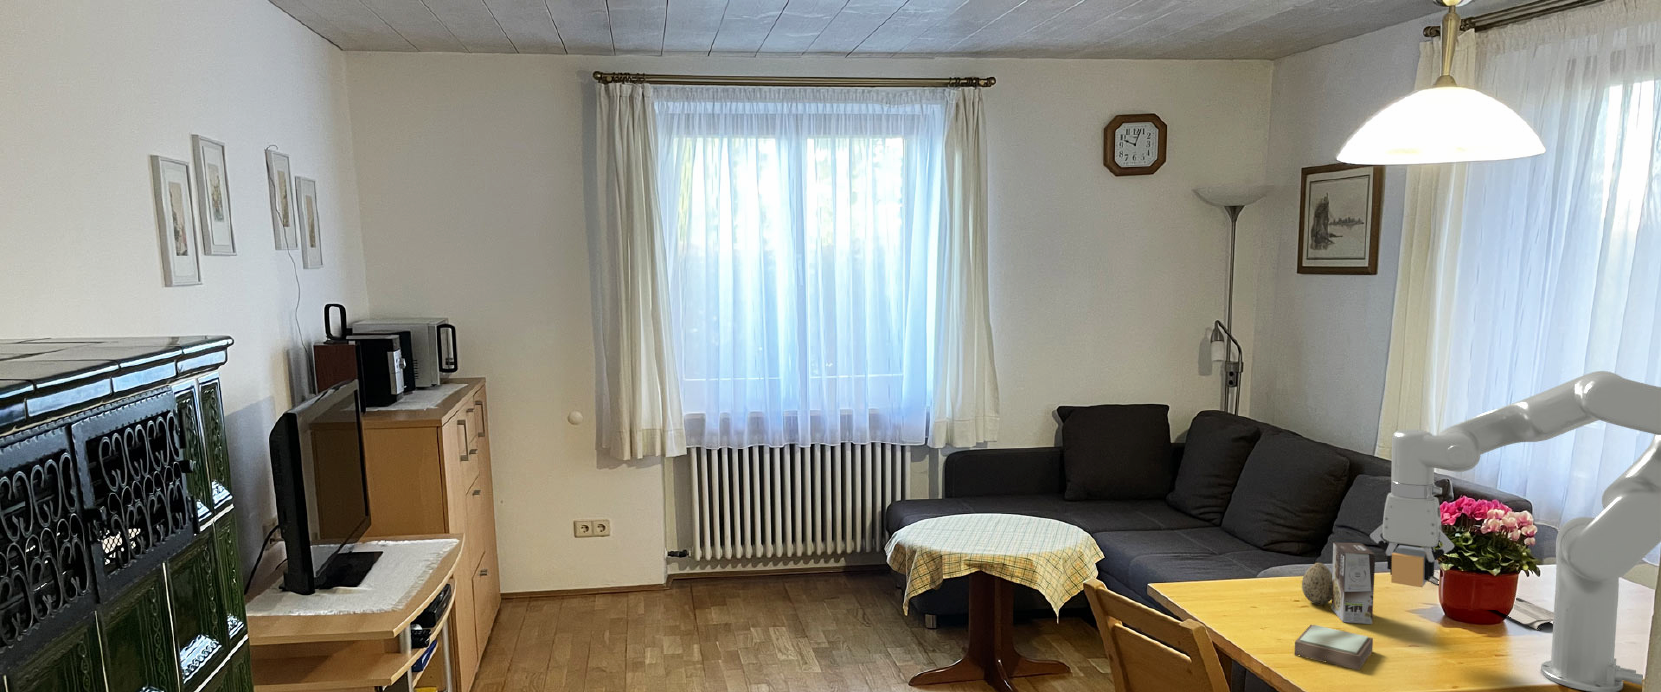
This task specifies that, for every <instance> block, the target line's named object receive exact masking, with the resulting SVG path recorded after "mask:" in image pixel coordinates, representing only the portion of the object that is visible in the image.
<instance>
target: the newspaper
mask: <svg viewBox="0 0 1661 692" xmlns="http://www.w3.org/2000/svg"><path fill="white" fill-rule="evenodd" d="M1438 570H1439V569H1434V576H1431V578H1430V579H1429V581H1428V582H1431V583H1433V584H1435V585H1437V584H1438V581H1439V572H1438ZM1508 616H1509V617H1508ZM1508 616H1507V617H1508V618H1510V617H1511V618H1510V619H1512V620H1514V621H1517V622H1520V623H1521V624H1522V625H1526V626H1528V625H1529V626H1528V627H1530V628H1532V629H1535V630H1540V629H1539V628H1540V627H1539V626H1540V625H1541V624H1544V623H1548V622H1551V621H1553V620H1554V611H1551V610H1548V609H1546V608H1544V607H1541V606H1539V605H1537V604H1534V603H1531V602H1529V601H1527V600H1525V599H1522V598H1519V597H1517V598H1516V601H1515V604H1514V609H1513V610H1512V612H1511V614H1509V615H1508ZM1538 627H1539V628H1538ZM1537 628H1538V629H1537Z"/></svg>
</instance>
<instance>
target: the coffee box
mask: <svg viewBox="0 0 1661 692" xmlns="http://www.w3.org/2000/svg"><path fill="white" fill-rule="evenodd" d="M1332 545H1333V546H1332V547H1333V548H1332V572H1331V574H1332V600H1331V605H1330V606H1331V607H1330V609H1331V610H1332V611H1333V613H1335V615H1336V616H1337V617H1338V618H1339V620H1341V622H1343V623H1350V624H1364V625H1373V613H1374V595H1375V594H1374V593H1375V591H1374V589H1375V571H1376V553H1375V552H1374V551H1372V550H1371V549H1369V548H1368V547H1367V546H1366V545H1365V544H1364V543H1360V542H1333V544H1332Z"/></svg>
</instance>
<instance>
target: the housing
mask: <svg viewBox="0 0 1661 692" xmlns="http://www.w3.org/2000/svg"><path fill="white" fill-rule="evenodd" d="M1426 558H1427V556H1426V553H1425V551H1424V548H1423V547H1418V546H1411V545H1404V544H1399V545H1397V547H1396V549H1395V551H1394V552H1393V553H1392V575H1391V581H1390V582H1391V583H1393V584H1399V585H1405V586H1409V587H1410V586H1411V587H1415V588H1416V587H1417V588H1423V587H1424V586H1425V585H1426V583H1427V581H1426V580H1425V561H1426Z"/></svg>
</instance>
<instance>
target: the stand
mask: <svg viewBox="0 0 1661 692" xmlns="http://www.w3.org/2000/svg"><path fill="white" fill-rule="evenodd" d="M1373 643H1374V637H1369V636H1368V635H1363V634H1358V633H1353V632H1350V631H1345V630H1340V629H1339V630H1338V629H1334V628H1330V627H1326V626H1322V625H1318V624H1317V625H1316V624H1310V625H1309V626H1308V627H1307V628H1306V629H1305V630H1304V631H1303V632H1302V633H1301V635H1300V636H1298V637H1297V639H1296V640H1295V641H1294V656H1298V655H1300V656H1299V657H1302V656H1303V657H1302V658H1306V657H1308V658H1307V659H1310V658H1312V659H1311V660H1314V659H1315V660H1316V661H1319V662H1323V661H1326V662H1325V663H1327V662H1328V664H1332V665H1335V666H1340V667H1343V668H1344V667H1345V668H1349V669H1353V670H1357V671H1360V670H1361V668H1362V667H1363V665H1364V664H1365V662H1366V661H1367V660H1368V658H1369V657H1370V655H1371V654H1372V653H1373V649H1374V646H1373Z"/></svg>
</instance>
